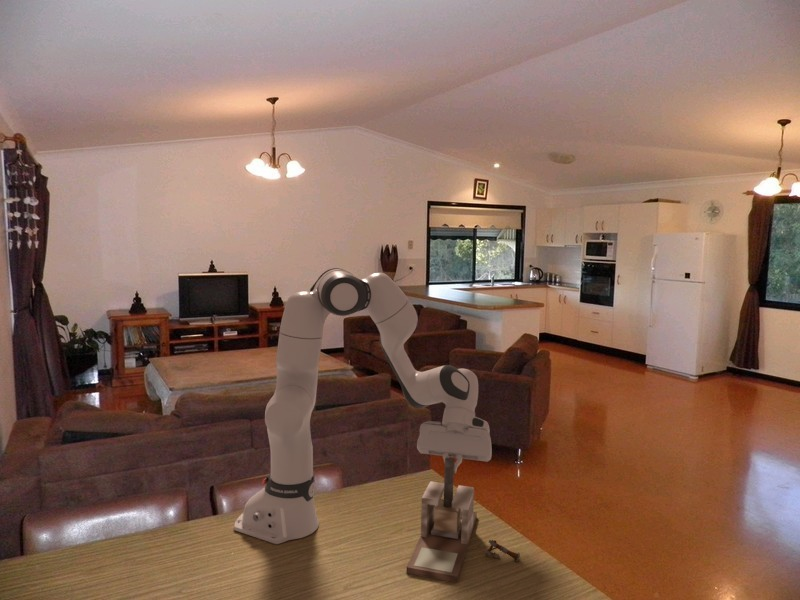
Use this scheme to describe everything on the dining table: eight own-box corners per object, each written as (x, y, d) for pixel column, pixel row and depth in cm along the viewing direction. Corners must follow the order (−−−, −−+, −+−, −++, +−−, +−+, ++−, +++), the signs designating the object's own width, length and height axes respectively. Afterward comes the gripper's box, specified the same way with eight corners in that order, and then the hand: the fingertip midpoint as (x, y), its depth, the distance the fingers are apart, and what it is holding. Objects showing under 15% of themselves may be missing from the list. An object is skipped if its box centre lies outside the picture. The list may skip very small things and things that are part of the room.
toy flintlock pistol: (482, 550, 139) (490, 536, 138) (511, 566, 138) (520, 552, 137) (482, 554, 137) (490, 540, 136) (511, 571, 136) (520, 556, 135)
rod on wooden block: (431, 534, 144) (432, 463, 142) (437, 519, 152) (439, 452, 149) (457, 539, 142) (460, 467, 140) (463, 523, 150) (465, 455, 147)
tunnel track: (406, 573, 130) (407, 524, 129) (434, 510, 160) (435, 471, 159) (457, 582, 127) (458, 533, 126) (476, 517, 157) (477, 476, 155)
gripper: (419, 414, 156) (410, 461, 147) (493, 422, 150) (487, 472, 142) (423, 425, 160) (414, 471, 152) (494, 433, 155) (489, 481, 147)
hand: (450, 471), depth 147 cm, fingers closed
